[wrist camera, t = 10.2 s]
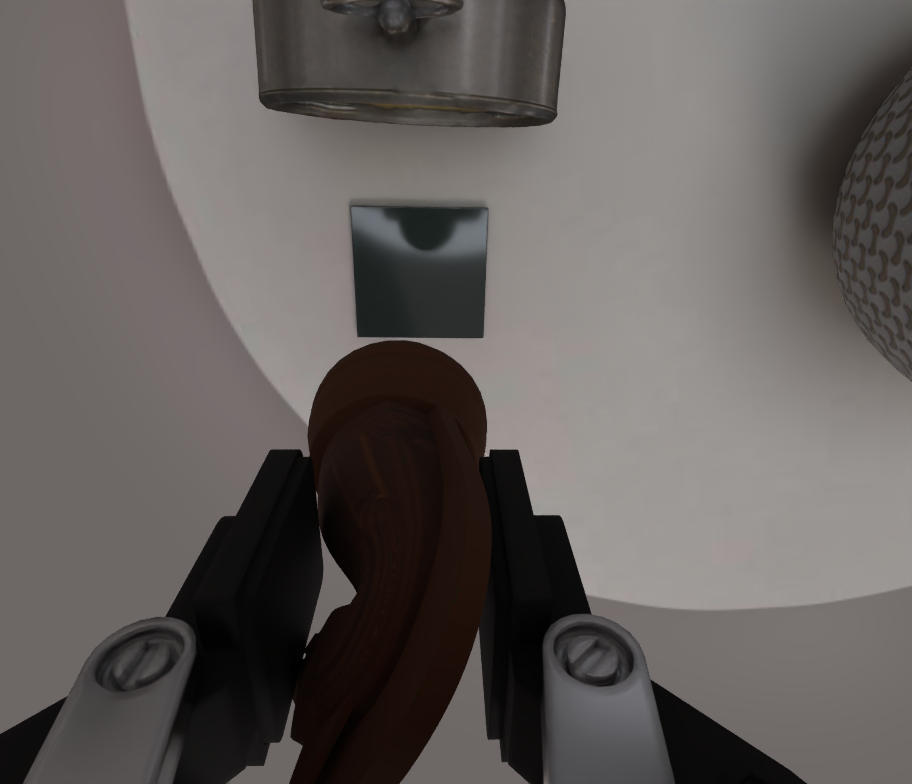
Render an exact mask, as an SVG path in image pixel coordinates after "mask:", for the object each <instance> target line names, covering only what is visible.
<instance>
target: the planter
mask: <svg viewBox="0 0 912 784" xmlns="http://www.w3.org/2000/svg"><path fill="white" fill-rule="evenodd" d="M833 258H834V265H835V272H836V279H837V282H838V285H839V288H840V291H841V294H842V297H843V300H844V302H845V304H846V306H847V307H848V309H849V311H850V313H851V314H852V316H853V318H854V320H855V321H856V323H857V325H858V326H859V328H860V330H861V331H862V333H863V334H864V335H865V336H866V338H867V339H868V340H869V341H870V342H871V343H872V345H873V346H874V347H875V348H876V349H877V350H878V351H879V352H880V353H881V354H882V356H883V357H884V358H885V359H886V360H887V361H888V362H890V363H891V364H892V365H893V366H894V367H895V368H896V369H897V370H898V371H899V372H900V373H901V374H903V375H904V376H905V377H906V378H908V379H909V380H910V381H911V382H912V68H911V69H910V70H909V71H908V72H907V74H906V75H905V76H904V77H903V79H902V80H901V81H900V82H899V83H898V85H897V86H896V87H895V88H894V90H893V91H892V92H891V93H890V94H889V96H888V97H887V98H886V99H885V101H884V102H883V103H882V105H881V106H880V108H879V109H878V111H877V112H876V114H875V115H874V117H873V119H872V120H871V122H870V123H869V125H868V126H867V128H866V129H865V131H864V133H863V134H862V136H861V138H860V141H859V143H858V145H857V147H856V149H855V151H854V153H853V155H852V157H851V159H850V161H849V163H848V166H847V169H846V172H845V175H844V178H843V181H842V184H841V187H840V190H839V194H838V199H837V204H836V210H835V215H834V220H833Z"/></svg>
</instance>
